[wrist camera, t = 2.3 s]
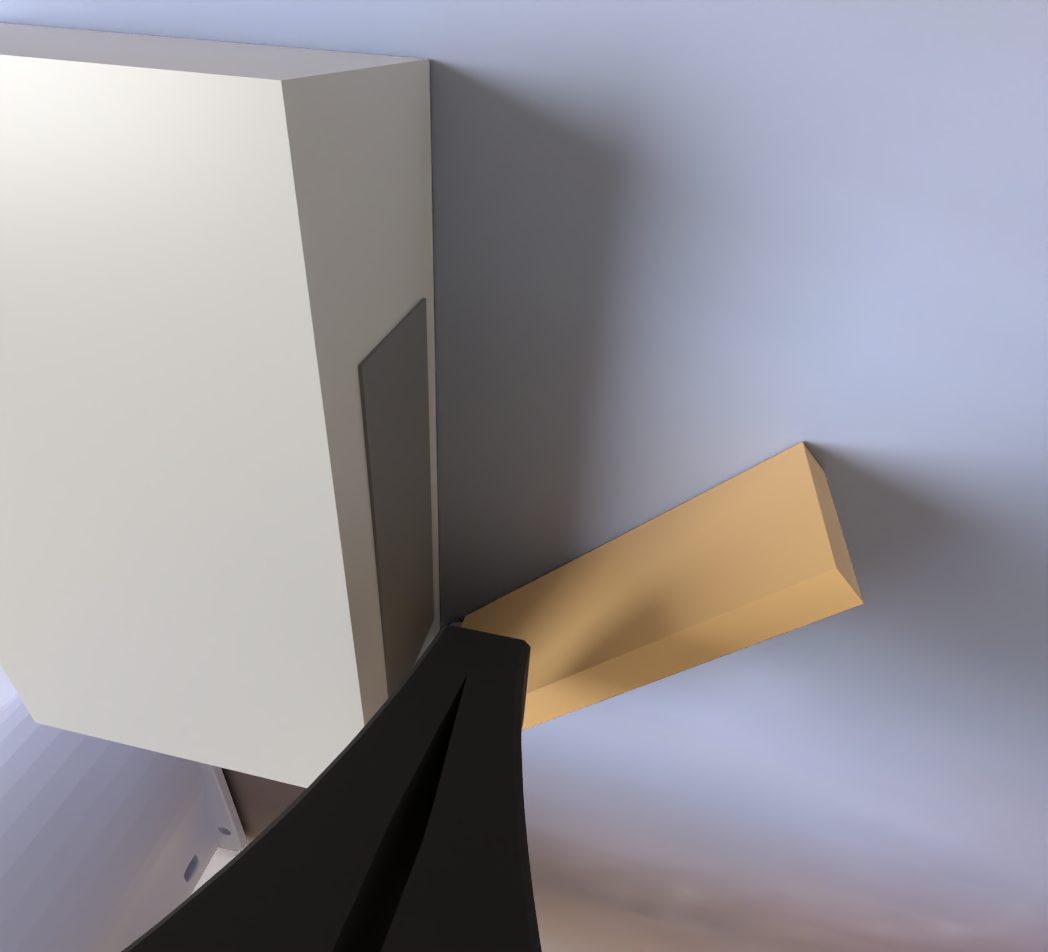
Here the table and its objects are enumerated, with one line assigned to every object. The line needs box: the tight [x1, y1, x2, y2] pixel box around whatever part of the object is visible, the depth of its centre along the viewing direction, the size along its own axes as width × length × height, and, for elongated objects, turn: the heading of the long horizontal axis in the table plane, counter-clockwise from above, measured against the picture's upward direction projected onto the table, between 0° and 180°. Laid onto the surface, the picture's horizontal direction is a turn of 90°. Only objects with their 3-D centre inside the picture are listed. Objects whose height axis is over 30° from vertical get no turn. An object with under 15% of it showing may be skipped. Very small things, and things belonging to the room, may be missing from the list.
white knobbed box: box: [0, 23, 440, 788], centre depth 13 cm, size 14×8×5 cm, turn 176°
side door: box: [450, 442, 864, 730], centre depth 13 cm, size 10×1×4 cm, turn 131°
